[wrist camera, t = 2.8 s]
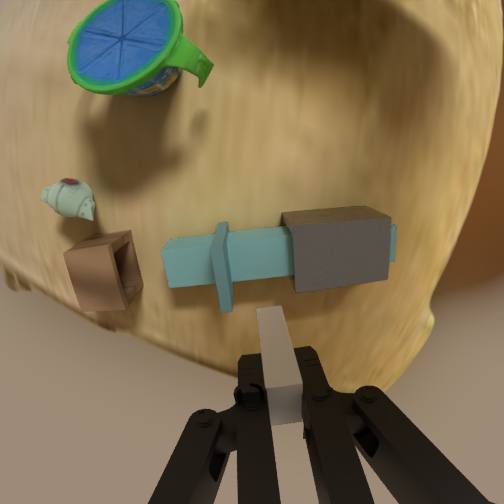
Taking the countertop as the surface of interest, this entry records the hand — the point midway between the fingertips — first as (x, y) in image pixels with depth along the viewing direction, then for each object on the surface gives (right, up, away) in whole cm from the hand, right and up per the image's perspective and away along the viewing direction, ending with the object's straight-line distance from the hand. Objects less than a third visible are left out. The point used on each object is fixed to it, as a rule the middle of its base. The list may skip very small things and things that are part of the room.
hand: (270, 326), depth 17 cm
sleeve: (+7, +6, +15) cm, 18 cm away
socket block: (-18, +3, +15) cm, 24 cm away
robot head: (-21, +12, +12) cm, 27 cm away
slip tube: (+2, +6, +15) cm, 16 cm away
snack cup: (-12, +25, +8) cm, 29 cm away
